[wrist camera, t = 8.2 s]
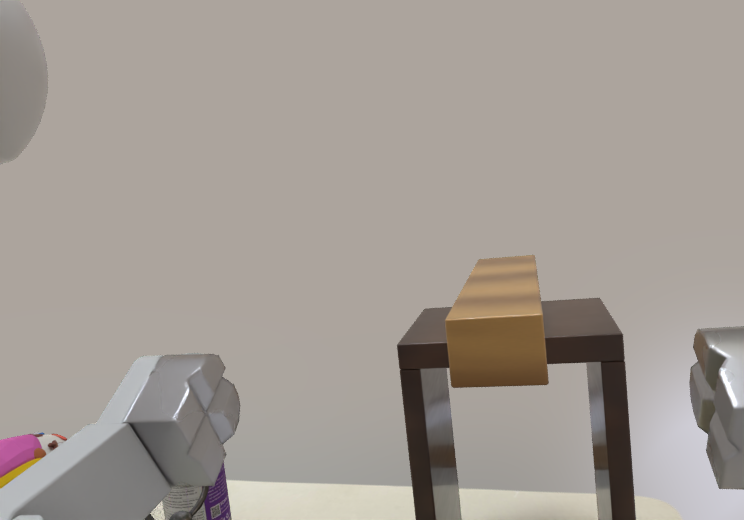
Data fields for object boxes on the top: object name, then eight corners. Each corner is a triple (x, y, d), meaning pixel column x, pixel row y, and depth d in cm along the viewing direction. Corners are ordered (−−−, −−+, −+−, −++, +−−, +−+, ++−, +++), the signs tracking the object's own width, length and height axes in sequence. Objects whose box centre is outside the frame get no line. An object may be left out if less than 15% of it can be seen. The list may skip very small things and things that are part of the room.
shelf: (426, 623, 37) (396, 344, 35) (447, 531, 46) (423, 308, 45) (644, 637, 34) (623, 333, 32) (617, 535, 44) (600, 297, 42)
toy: (148, 429, 56) (-19, 477, 42) (133, 530, 56) (-37, 609, 42) (74, 402, 60) (-100, 437, 46) (61, 496, 60) (-116, 558, 46)
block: (548, 385, 25) (542, 313, 25) (451, 388, 26) (444, 319, 26) (538, 296, 45) (534, 254, 44) (482, 299, 46) (478, 259, 45)
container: (219, 530, 50) (193, 349, 49) (246, 552, 47) (219, 357, 45) (162, 556, 47) (133, 364, 46) (186, 581, 44) (155, 374, 42)
